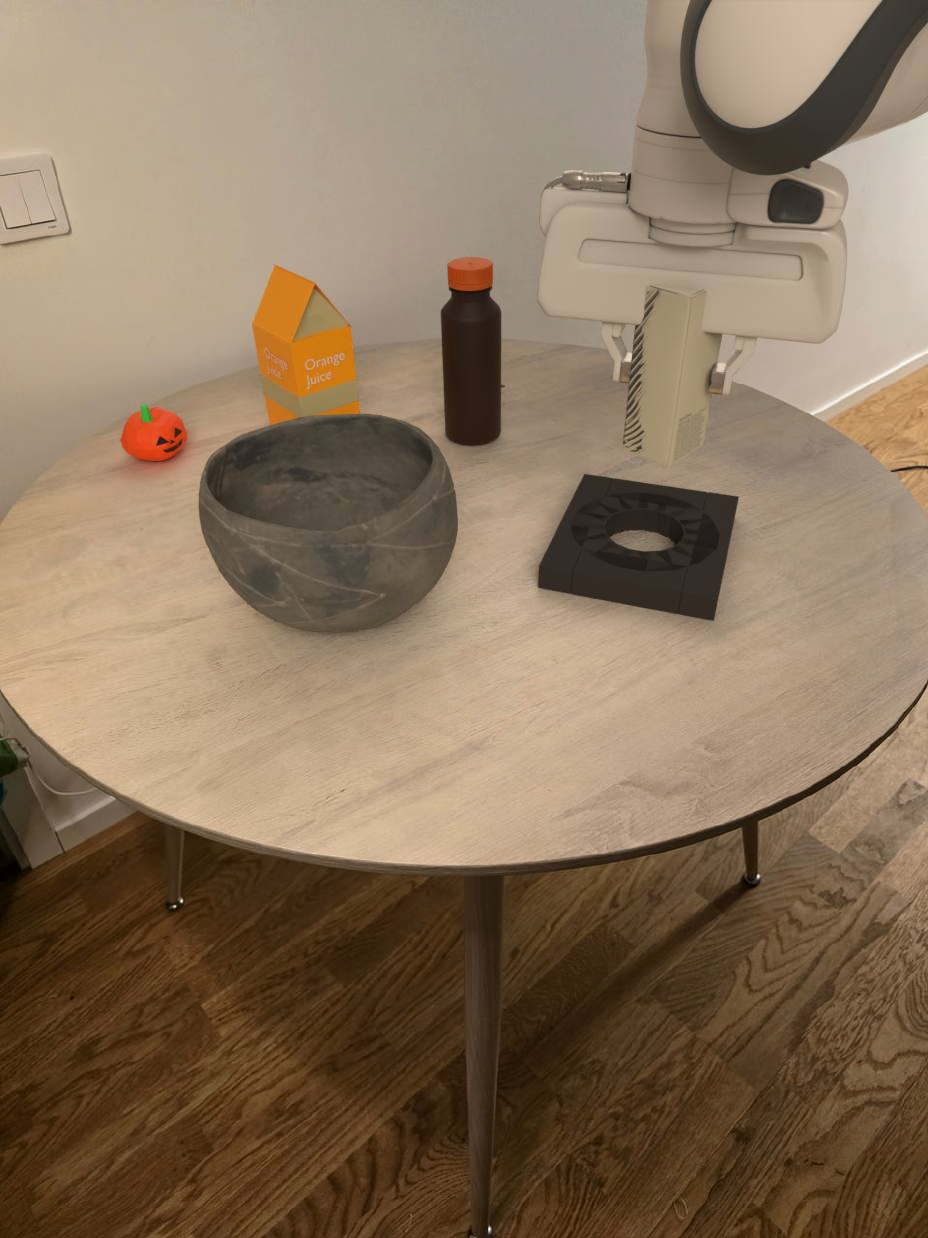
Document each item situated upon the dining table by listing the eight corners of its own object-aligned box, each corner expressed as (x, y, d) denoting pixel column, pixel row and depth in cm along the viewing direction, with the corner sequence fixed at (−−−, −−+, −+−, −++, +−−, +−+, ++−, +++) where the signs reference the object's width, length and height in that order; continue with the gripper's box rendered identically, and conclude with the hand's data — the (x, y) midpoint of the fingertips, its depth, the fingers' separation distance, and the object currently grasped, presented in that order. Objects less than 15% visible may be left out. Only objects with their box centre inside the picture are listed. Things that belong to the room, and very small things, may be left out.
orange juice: (308, 468, 99) (281, 290, 87) (271, 441, 105) (240, 270, 92) (365, 447, 103) (347, 274, 91) (326, 422, 108) (304, 256, 96)
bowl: (188, 596, 80) (148, 450, 71) (379, 519, 90) (365, 382, 81) (297, 722, 67) (266, 563, 58) (507, 615, 77) (508, 465, 68)
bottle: (511, 437, 104) (513, 265, 92) (463, 452, 101) (459, 276, 89) (482, 416, 109) (480, 250, 96) (435, 430, 106) (427, 260, 94)
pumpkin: (196, 438, 106) (184, 388, 102) (181, 470, 100) (168, 418, 96) (137, 440, 106) (123, 390, 102) (119, 472, 99) (103, 420, 95)
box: (658, 429, 69) (681, 261, 61) (705, 446, 66) (736, 274, 58) (618, 452, 66) (636, 279, 58) (666, 471, 63) (692, 294, 55)
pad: (734, 517, 89) (739, 496, 87) (713, 621, 76) (718, 598, 74) (582, 493, 93) (584, 473, 92) (537, 588, 80) (538, 566, 79)
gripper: (528, 178, 55) (522, 385, 63) (873, 199, 49) (815, 422, 58) (553, 158, 59) (544, 353, 68) (871, 175, 54) (817, 385, 63)
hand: (671, 385), depth 63 cm, fingers closed on box, 5 cm apart
